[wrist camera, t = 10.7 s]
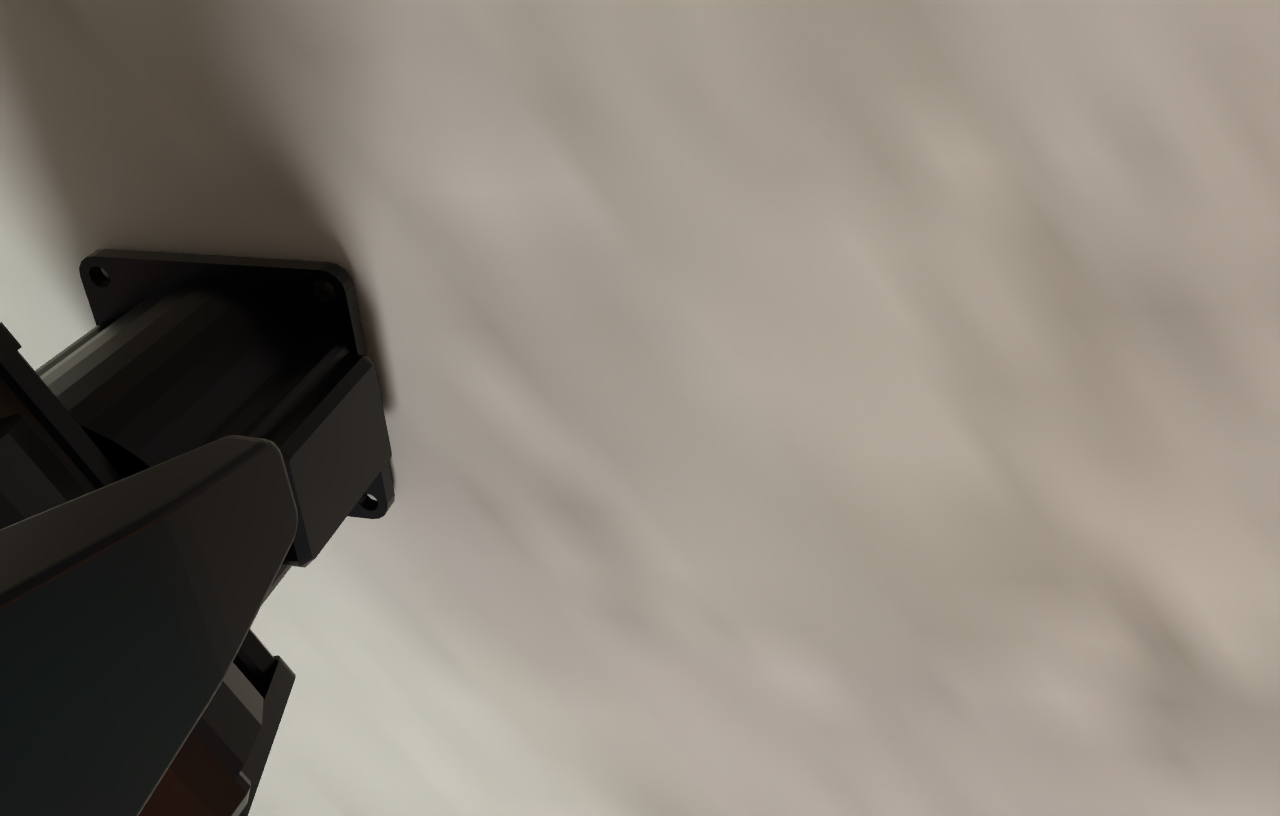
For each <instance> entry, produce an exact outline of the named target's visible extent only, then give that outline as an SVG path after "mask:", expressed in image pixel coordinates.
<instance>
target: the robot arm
mask: <svg viewBox="0 0 1280 816" xmlns="http://www.w3.org/2000/svg"><path fill="white" fill-rule="evenodd" d="M101 268H102V269H103V270H105V271H106V272H107V274H108V275H109V277H110V279H109V278H107V277H106V276H105V275H104V274H103V272H102V270H101ZM79 270H80V276H81V279H82V283H83V286H84V289H85V292H86V295H87V298H88V301H89V304H90V307H91V310H92V313H93V316H94V319H95V322H96V325H97V326H96V327H95V328H94V329H92V330H91V331H89V332H88V333H87V334H85V335H84V336H83V337H81V338H80V339H78V340H77V341H76V342H74V343H73V344H71V345H70V346H69V347H67V348H66V349H65V350H63V351H62V352H60V353H59V354H58V355H56V356H55V357H54V358H52V359H51V360H49V361H48V362H47V363H45V364H44V365H42V366H41V367H40V368H38V369H37V370H36V371H34V370H33V368H32V367H31V366H30V365H29V364H28V362H27V361H26V360H25V359H24V358H23V356H22V355H21V354H20V353H19V352H18V349H20V348H21V347H22V346H21V345H20V344H19V343H18V341H17V340H16V339H15V338H14V337H13V335H12V334H11V333H10V332H9V331H8V329H7V328H6V327H5V326H4V325H3V323H2V322H1V323H0V816H248V813H249V810H250V807H251V805H252V802H253V799H254V796H255V793H256V790H257V787H258V784H259V781H260V779H261V776H262V773H263V770H264V767H265V764H266V761H267V758H268V756H269V753H270V750H271V747H272V744H273V741H274V738H275V735H276V732H277V730H278V727H279V724H280V721H281V718H282V715H283V712H284V709H285V706H286V704H287V701H288V698H289V695H290V692H291V689H292V686H293V683H294V681H295V676H296V675H295V674H294V673H293V672H292V670H291V669H290V668H289V667H288V666H287V664H286V663H285V662H284V661H283V660H282V658H281V657H280V656H272V654H271V653H270V652H269V651H268V650H267V648H266V647H265V646H264V645H263V644H262V642H261V641H260V640H259V639H258V638H257V636H256V635H255V634H254V633H253V632H252V630H251V629H250V627H251V625H252V623H253V621H254V619H255V617H256V615H257V613H258V611H259V609H260V607H261V605H262V604H263V603H264V601H265V600H266V599H267V597H268V596H269V595H270V594H271V592H272V591H273V590H274V588H275V587H276V586H277V584H278V583H279V582H280V581H281V579H282V578H283V577H284V575H285V574H286V573H287V571H288V570H289V569H290V568H291V566H297V567H306V566H307V565H308V564H310V563H311V562H312V561H313V560H314V559H315V558H316V557H317V555H318V554H319V553H320V551H321V550H322V549H323V547H324V546H325V545H326V543H327V542H328V541H329V539H330V538H331V537H332V535H333V534H334V533H335V531H336V530H337V529H338V527H339V526H340V525H341V523H342V522H343V521H344V519H345V518H346V517H347V516H351V517H360V518H369V519H377V518H380V517H382V516H384V515H385V514H386V512H387V511H388V510H389V508H390V507H391V505H392V504H393V502H394V496H395V494H394V489H393V484H392V478H391V473H390V468H389V463H388V461H389V459H390V458H391V455H392V453H391V447H390V442H389V437H388V431H387V426H386V421H385V416H384V410H383V405H382V400H381V395H380V389H379V384H378V379H377V374H376V369H375V365H374V364H373V363H372V361H371V360H370V358H369V357H368V354H367V349H366V344H365V339H364V334H363V329H362V323H361V318H360V313H359V308H358V303H357V298H356V292H355V287H354V284H353V281H352V278H351V276H350V275H349V274H348V273H347V271H346V270H345V269H343V268H342V267H340V266H339V265H337V264H333V263H329V262H315V261H298V260H281V259H264V258H247V257H230V256H213V255H196V254H179V253H162V252H145V251H128V250H111V249H102V250H97V251H95V252H94V253H92V254H91V255H89V256H88V257H86V258H85V259H84V260H82V261H81V264H80V267H79ZM322 281H325V282H328V283H329V284H330V285H331V286H333V288H334V290H335V294H331V293H329V292H328V291H327V290H325V289H324V287H323V284H322ZM367 493H368V494H371V495H373V496H374V497H375V498H376V499H377V501H376V500H373V499H371V498H370V497H369V496H368V495H367Z"/></svg>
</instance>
